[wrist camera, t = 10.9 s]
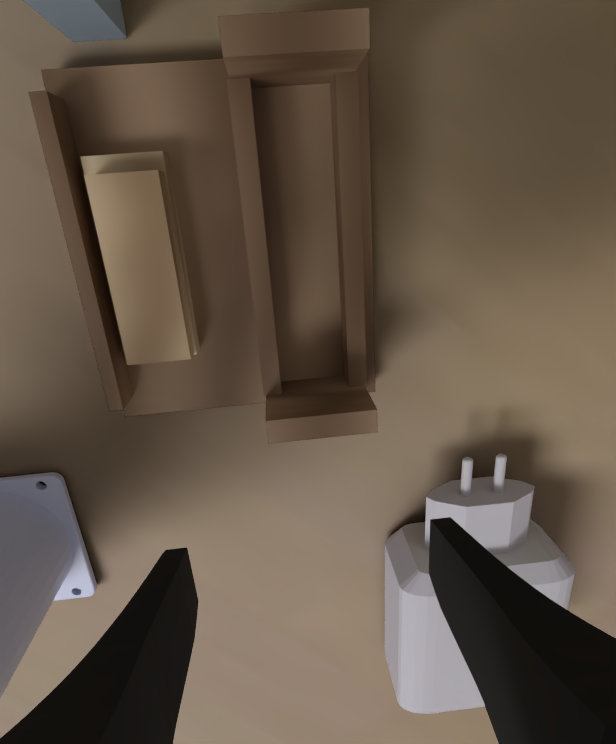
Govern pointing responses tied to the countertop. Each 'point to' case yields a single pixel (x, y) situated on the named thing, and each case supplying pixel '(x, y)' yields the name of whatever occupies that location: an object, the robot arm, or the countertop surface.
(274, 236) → the tray
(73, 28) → the board
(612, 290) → the countertop surface
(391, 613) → the charger
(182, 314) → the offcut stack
